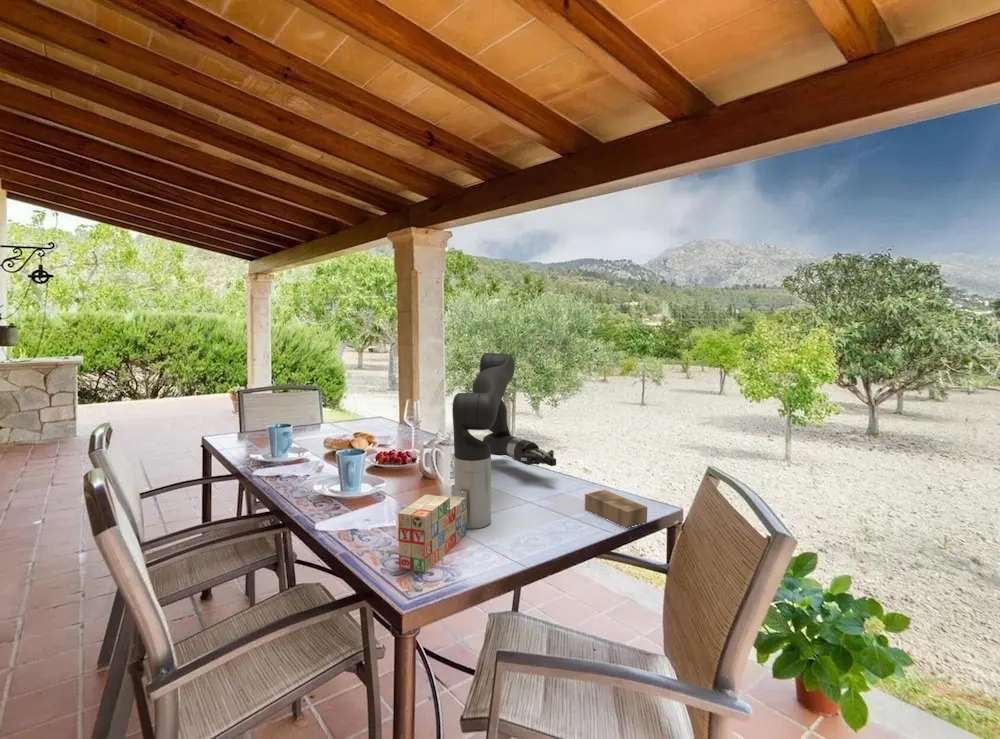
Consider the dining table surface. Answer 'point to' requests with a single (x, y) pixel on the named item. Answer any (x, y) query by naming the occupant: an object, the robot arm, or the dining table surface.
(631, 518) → the walnut block
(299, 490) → the dining table surface
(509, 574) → the dining table surface
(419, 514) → the stack of blocks
